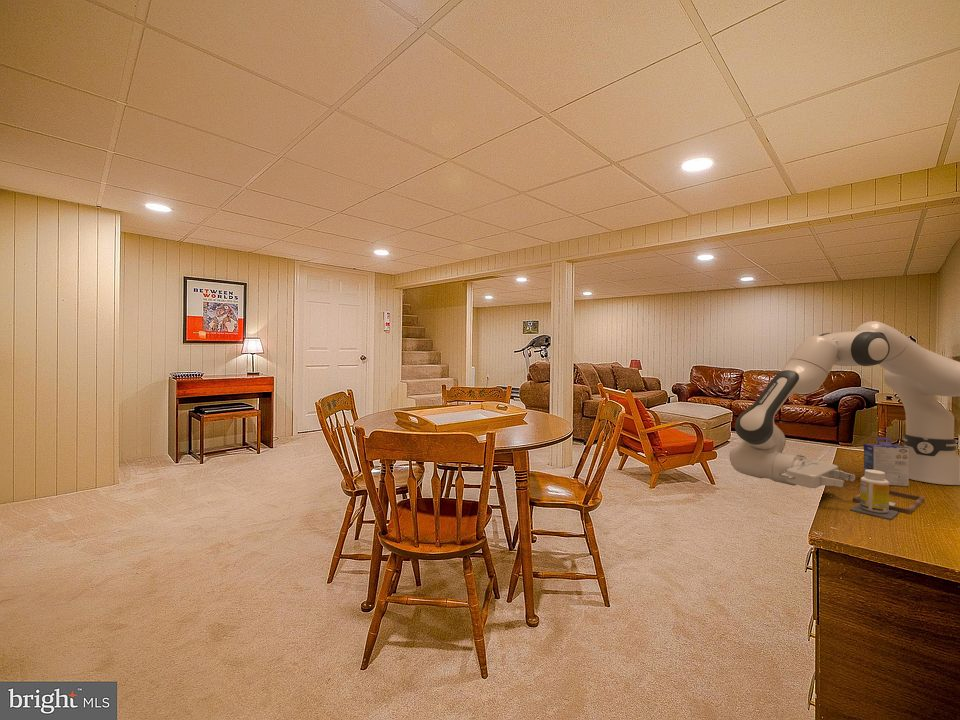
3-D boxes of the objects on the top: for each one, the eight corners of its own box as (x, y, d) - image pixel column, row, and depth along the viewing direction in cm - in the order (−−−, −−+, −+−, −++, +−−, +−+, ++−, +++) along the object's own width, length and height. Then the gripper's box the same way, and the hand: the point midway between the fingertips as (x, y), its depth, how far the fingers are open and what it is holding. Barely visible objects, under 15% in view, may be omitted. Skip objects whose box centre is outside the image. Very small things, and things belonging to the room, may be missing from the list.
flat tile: (876, 502, 122) (876, 499, 122) (895, 506, 119) (895, 503, 119) (873, 505, 119) (873, 502, 119) (893, 509, 116) (893, 506, 116)
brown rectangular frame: (870, 489, 131) (870, 486, 131) (924, 500, 122) (924, 497, 122) (852, 501, 121) (852, 497, 121) (910, 514, 112) (910, 510, 112)
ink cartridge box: (897, 481, 140) (898, 437, 140) (910, 486, 135) (911, 440, 135) (861, 479, 142) (862, 435, 142) (873, 484, 137) (874, 439, 137)
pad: (859, 504, 119) (859, 502, 119) (898, 513, 112) (899, 511, 112) (850, 510, 114) (850, 508, 114) (891, 520, 108) (891, 518, 108)
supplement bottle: (892, 511, 112) (893, 472, 112) (882, 515, 110) (883, 475, 109) (866, 505, 117) (867, 467, 117) (855, 508, 115) (856, 469, 114)
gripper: (775, 463, 122) (837, 475, 111) (802, 454, 134) (860, 464, 123) (775, 485, 122) (836, 499, 111) (801, 474, 134) (859, 486, 123)
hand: (849, 480), depth 117 cm, fingers open, 8 cm apart
